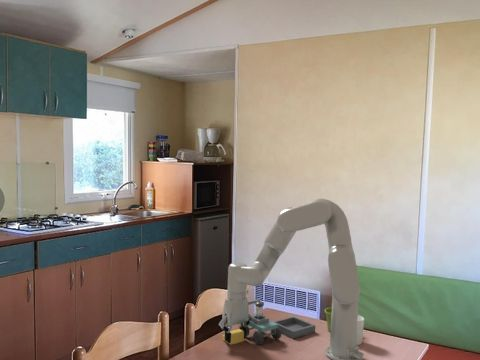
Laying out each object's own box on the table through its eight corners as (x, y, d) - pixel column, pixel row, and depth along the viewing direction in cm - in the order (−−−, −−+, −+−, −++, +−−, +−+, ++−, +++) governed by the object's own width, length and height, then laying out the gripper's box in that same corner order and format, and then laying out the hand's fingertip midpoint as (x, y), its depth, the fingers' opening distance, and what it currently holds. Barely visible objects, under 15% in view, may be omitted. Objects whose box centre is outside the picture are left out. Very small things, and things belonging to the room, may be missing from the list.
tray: (315, 332, 190) (315, 325, 190) (293, 338, 182) (293, 331, 182) (293, 322, 200) (293, 316, 200) (271, 328, 192) (271, 321, 192)
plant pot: (319, 330, 193) (320, 310, 192) (331, 325, 199) (332, 305, 199) (338, 337, 186) (339, 316, 186) (350, 331, 193) (351, 311, 192)
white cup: (339, 339, 183) (340, 315, 183) (354, 337, 187) (355, 313, 186) (351, 347, 176) (352, 322, 176) (367, 344, 179) (368, 319, 179)
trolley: (281, 340, 180) (282, 307, 179) (261, 346, 174) (262, 311, 173) (258, 329, 191) (259, 298, 190) (239, 334, 185) (240, 302, 184)
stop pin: (265, 321, 182) (265, 303, 182) (258, 323, 180) (259, 304, 180) (259, 318, 185) (260, 300, 185) (252, 320, 183) (253, 302, 183)
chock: (243, 341, 178) (244, 331, 178) (230, 344, 174) (231, 334, 174) (235, 336, 182) (235, 326, 182) (222, 340, 178) (222, 330, 178)
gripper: (247, 289, 185) (246, 332, 185) (213, 295, 174) (211, 341, 175) (259, 294, 179) (257, 338, 180) (224, 301, 168) (222, 348, 169)
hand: (235, 339), depth 177 cm, fingers closed on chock, 6 cm apart
